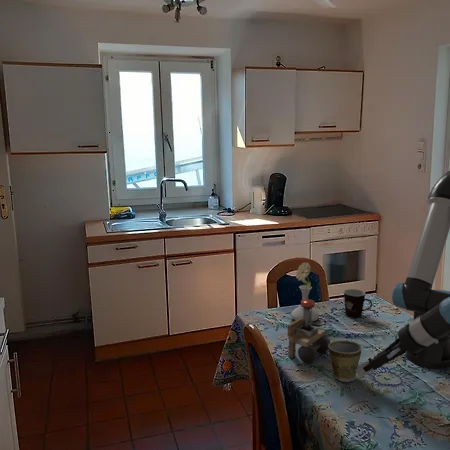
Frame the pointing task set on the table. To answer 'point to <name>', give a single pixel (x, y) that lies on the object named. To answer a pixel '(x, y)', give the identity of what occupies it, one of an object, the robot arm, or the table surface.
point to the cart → (306, 341)
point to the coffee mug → (354, 303)
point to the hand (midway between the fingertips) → (358, 372)
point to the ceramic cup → (344, 359)
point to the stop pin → (307, 313)
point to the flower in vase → (304, 291)
